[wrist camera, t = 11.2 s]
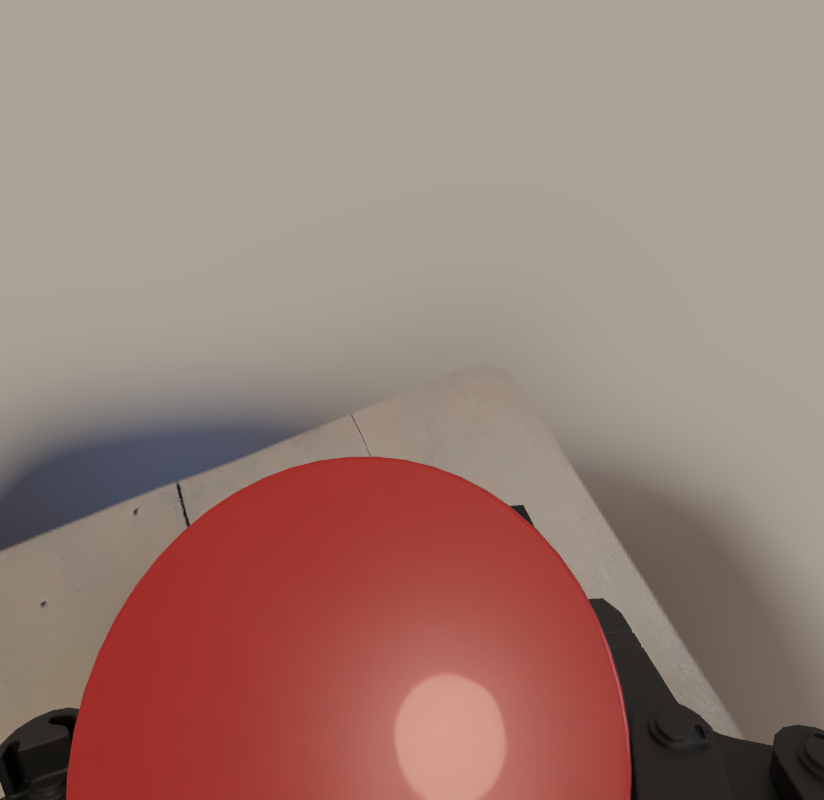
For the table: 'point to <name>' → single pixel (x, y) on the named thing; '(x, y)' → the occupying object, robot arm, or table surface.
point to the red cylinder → (355, 654)
